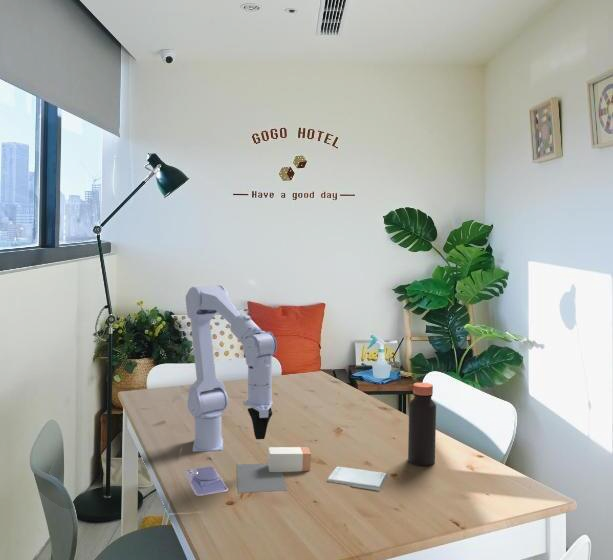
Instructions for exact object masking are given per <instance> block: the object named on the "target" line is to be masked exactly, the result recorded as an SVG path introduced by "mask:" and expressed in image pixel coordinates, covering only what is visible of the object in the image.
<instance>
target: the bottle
mask: <svg viewBox="0 0 613 560" xmlns="http://www.w3.org/2000/svg"><path fill="white" fill-rule="evenodd" d="M412 387H413V388H412V392H413V394H412V395H413V399H412V400H411V401H410V402H409V403H408V440H407V441H408V444H407V445H408V446H407V448H408V449H407V451H408V452H407V454H408V455H407V456H408V457H407V459H408V461H409V462H410V463H411V465H416V466H420V467H428V466H432V465H433V464H435V462H436V434H437V433H436V432H437V429H436V428H437V427H436V425H437V404H436V403H435V402H434V400H433V399H432V397H433V392H434V390H433V387H434V385H433V384H432V383H428V382H415V383H413V384H412Z"/></svg>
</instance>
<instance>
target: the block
mask: <svg viewBox="0 0 613 560" xmlns="http://www.w3.org/2000/svg"><path fill="white" fill-rule="evenodd" d="M267 454H268V457H267V463H268V468H269V472H283V473H289V472H290V473H291V472H293V473H294V472H309V471H310V472H311V459H312V457H311V456H312V453H311V451H310V448H309V446H286V447H285V446H284V447H283V446H282V447H281V446H279V447H278V446H276V447H275V446H271V447H269V446H268V453H267Z"/></svg>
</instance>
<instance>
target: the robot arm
mask: <svg viewBox="0 0 613 560" xmlns="http://www.w3.org/2000/svg"><path fill="white" fill-rule="evenodd" d="M229 297H230V296H229V291H228V290H227V289H226V287H224V286H223V285H215V286H214V285H213V286H197V287H196V286H191V287H190V288H189V289H188V291H187V293H186V294H185V305H186V307H185V308H186V313H187V314H186V315H187V318H188V319H189V320H190V327H191V336H192V337H191V338H192V346H193V355H194V356H193V358H194V367H195V375H196V376H195V377H196V380H195V382H193V383H192V384H191V385H190V387H189V388H188V391H187V392H188V395H187V396H188V397H187V409H188V411H189V413H190V414H191V415H192V416H193V417H194V440H193V446H192V453H193V452H194V453H196V452H216V451H217V452H218V451H223V450H224V437H222V415H224V414H225V412H224V411H225V410H226V409H227V408H228V404H229V396H228V394H227V392H226V389H225V384H224V382H223V381H222V380H219V379H218V378H217V376H216V375H217V374H216V366H215V365H216V364H215V357H214V355H215V354H214V348H213V338H212V330H211V329H212V328H211V320H212V319H213V317H215V316H216V315H218V314H219V315H220V316H221V317H222V318H223V319H224V320H225V321H227V323H228V324H230V325H229V329H230V332H231V333H232V334H233V336H235V337H236V339H237V340H238V341H239V342H240V343H241V344H242V350H243V354H244V356H245V363H246V365H247V400H243V401H242V402H243V403H242V404H243V406H245V407H246V406H248V407H249V408H247V412H248V415H249V416H250V419H251V422H252V428H253V433H254V438H255V440H264V439H265V437H266V434H267V428H268V424H269V422H270V420H271V417H272V416H273V410H272V406H273V399H272V398H273V397H272V396H273V393H272V390H273V388H272V386H273V381H272V377H273V376H272V375H273V373H272V372H273V369H272V368H273V367H272V366H273V365H272V364H273V356H274V355H275V354H276V352H277V349H278V343H277V339H276V337H275V336H274V334H273V332H271V331H265V330H262V329H261V328H260V327H259V326H258V325H257V324H256V323H255V322H254V321H253V320H252V317H251V315H249V314H241V313H240V311H238V309H237V308H236V307H235V305H234V304H233V303H232V301H231V300H230V298H229Z"/></svg>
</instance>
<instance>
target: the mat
mask: <svg viewBox="0 0 613 560" xmlns="http://www.w3.org/2000/svg"><path fill="white" fill-rule="evenodd" d="M236 479H237V481H236V482H237V493H238V494H244V493H245V494H246V493H265V492H280V491H282V492H283V491H285V492H286V491H288V488H287V484H286V480H285V476H284V472H269V468H268V462H267V463H266V462H265V463H248V464H236Z"/></svg>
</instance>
